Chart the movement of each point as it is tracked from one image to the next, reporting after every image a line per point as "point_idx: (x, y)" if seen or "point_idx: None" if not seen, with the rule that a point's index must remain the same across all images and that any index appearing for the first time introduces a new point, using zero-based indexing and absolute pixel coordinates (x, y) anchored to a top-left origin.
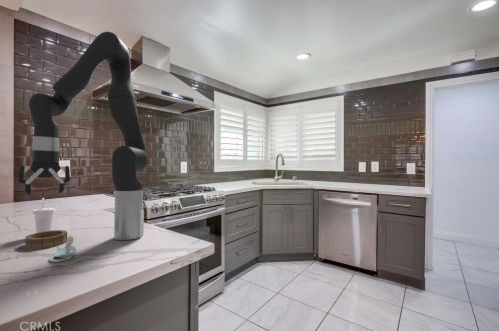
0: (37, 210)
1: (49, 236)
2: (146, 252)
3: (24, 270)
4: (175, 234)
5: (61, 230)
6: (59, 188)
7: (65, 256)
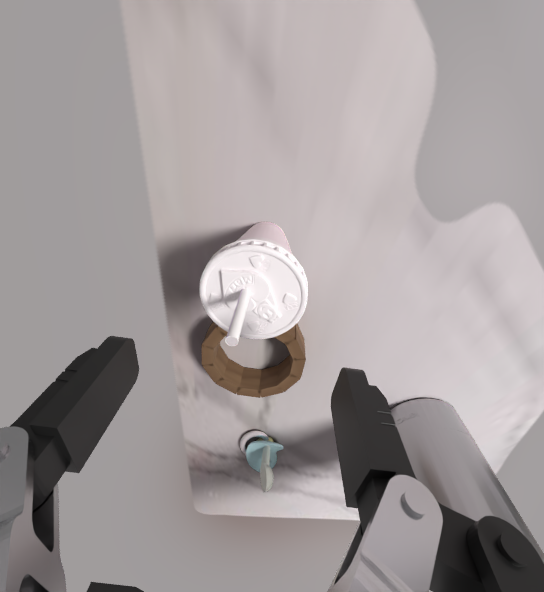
0: (218, 303)
1: None
2: None
3: (207, 448)
4: (492, 466)
5: (296, 345)
6: (339, 447)
7: (258, 461)
